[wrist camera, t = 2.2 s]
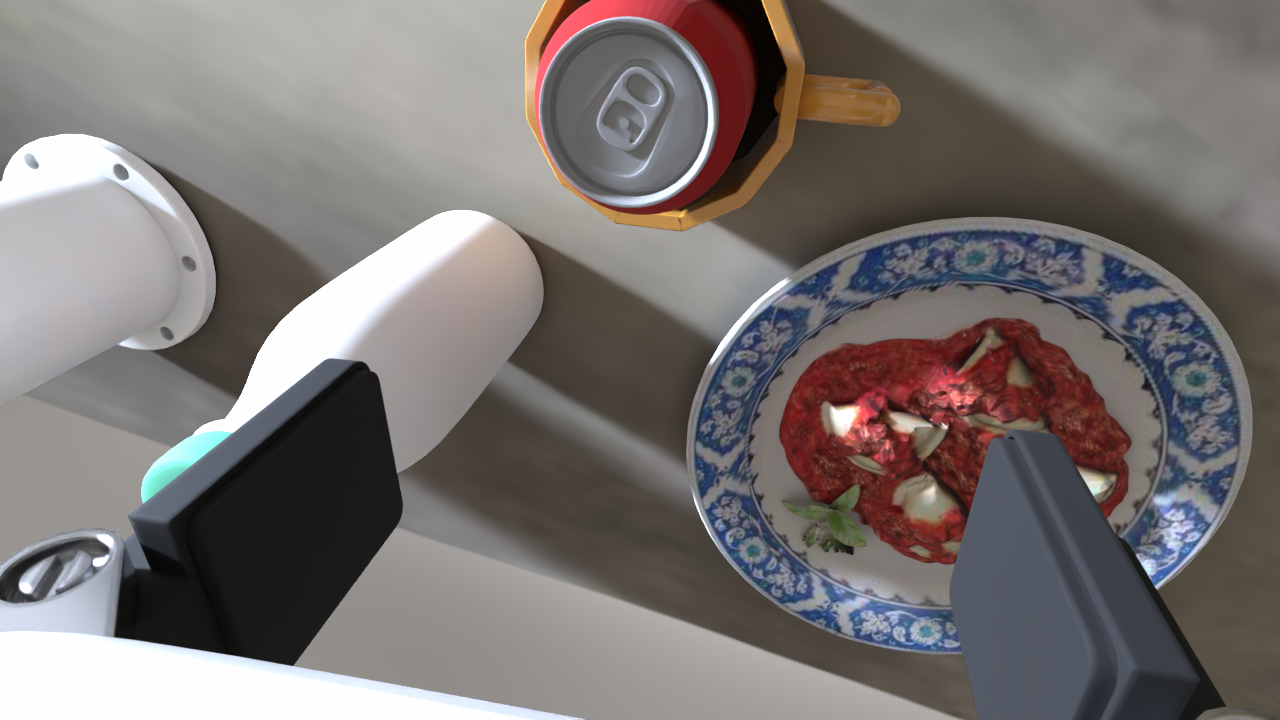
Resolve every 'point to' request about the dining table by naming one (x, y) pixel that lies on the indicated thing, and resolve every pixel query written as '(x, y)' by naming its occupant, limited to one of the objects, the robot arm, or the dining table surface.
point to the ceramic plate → (956, 414)
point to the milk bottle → (399, 334)
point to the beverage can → (646, 99)
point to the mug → (746, 175)
